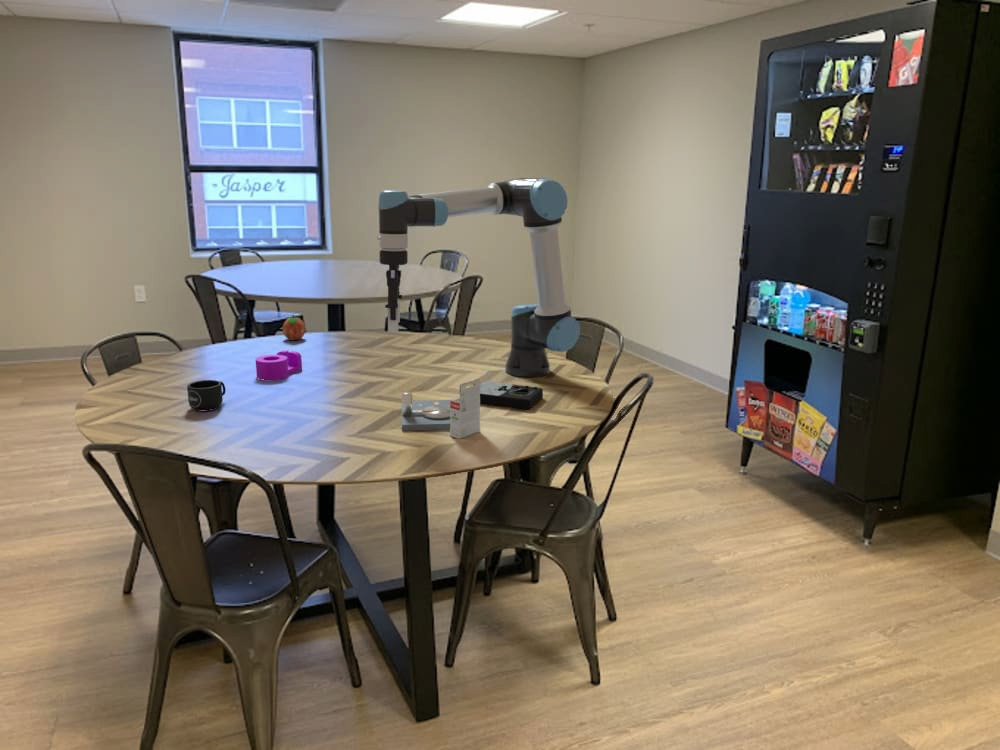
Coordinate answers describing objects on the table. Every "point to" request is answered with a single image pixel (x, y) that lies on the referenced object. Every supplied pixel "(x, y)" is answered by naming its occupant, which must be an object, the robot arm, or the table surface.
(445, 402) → the panel
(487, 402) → the multimeter
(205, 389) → the mug
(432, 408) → the dial
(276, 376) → the tape dispenser
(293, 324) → the fruit
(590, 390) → the table surface
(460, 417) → the ink box
